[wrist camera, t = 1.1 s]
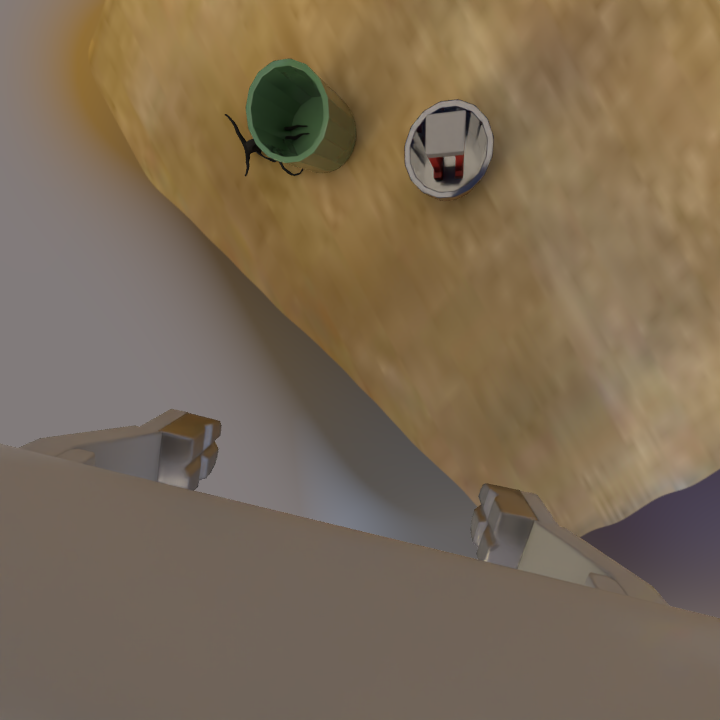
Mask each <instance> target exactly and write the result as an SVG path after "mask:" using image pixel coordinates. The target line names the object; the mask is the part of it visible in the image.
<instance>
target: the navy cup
mask: <svg viewBox="0 0 720 720" xmlns="http://www.w3.org/2000/svg"><path fill="white" fill-rule="evenodd" d="M462 110H465V111H466V125H465V150H464V170H463V178H459V179H455V161H456V159H455V156H447V157H443V179H442V180H435V179H434V169H433V167H432V165H431V163H430V161H429V159H428V158H427V156H426V154H425V143H426V115H428V114H436V113H445V112H454V111H462ZM493 139H494V137H493V133H492V130H491V127H490V124H489V121H488V119H487V117H486V116H485V115H484V114H483V113H482V112H481V111H480V110H479V109H478V108H477V107H476V106H475V105H473V104H470V103H467V102H465V101H462V100H458V99H456V100H448V101H441V102H438V103H437V104H435V105H433V106H432V107H430V108H428V109H426V110H425V111H424V112H422V114H421V115H420V116H419V117H418V119H417V120H416V121H415V122H414V124H413V125H412V126H411V128H410V131H409V134H408V137H407V140H406V143H405V166H406V169H407V171H408V174H409V176H410V179H411V181H412V182H413V183H414V184H415V185H416V186H417V187H418V188H419V189H420V190H421V191H422V192H423V193H425V194H426V195H428V196H429V197H432V198H435V199H437V200H440V201H451V200H456V199H459V198H461V197H463V196H465V195H467V194H468V193H470V191H471V190H472V189H473V188H474V187H475V186H476V185H477V184H478V183H479V182H480V180H481V179H482V177H483V176H484V174H485V172H486V170H487V168H488V165H489V163H490V161H491V159H492V155H493Z"/></svg>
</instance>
